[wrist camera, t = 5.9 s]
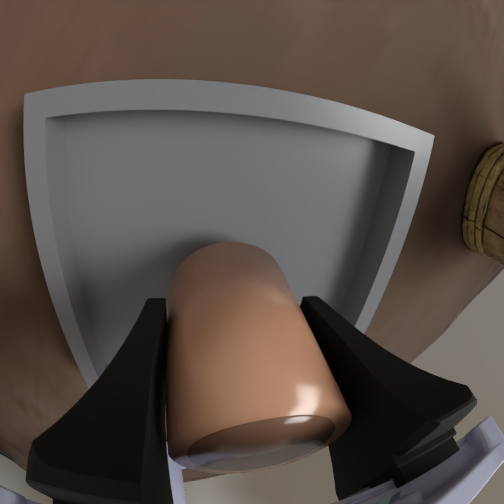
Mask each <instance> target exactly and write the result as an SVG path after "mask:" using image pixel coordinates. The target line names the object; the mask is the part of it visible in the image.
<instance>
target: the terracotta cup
mask: <svg viewBox="0 0 504 504" xmlns="http://www.w3.org/2000/svg"><path fill="white" fill-rule="evenodd" d="M351 420H352V415H351V413H350V411H349V409H348V406H347V404H346V402H345V400H344V398H343V396H342V394H341V392H340V389H339V387H338V385H337V383H336V381H335V379H334V377H333V375H332V372H331V370H330V368H329V366H328V364H327V362H326V360H325V358H324V356H323V354H322V351H321V349H320V347H319V345H318V343H317V341H316V339H315V337H314V335H313V333H312V331H311V329H310V327H309V325H308V323H307V320H306V318H305V316H304V314H303V312H302V310H301V308H300V306H299V304H298V302H297V300H296V298H295V296H294V294H293V292H292V290H291V288H290V286H289V284H288V282H287V280H286V278H285V276H284V274H283V272H282V270H281V268H280V266H279V264H278V263H277V261H276V260H275V259H274V258H273V257H272V256H271V255H270V254H269V253H267V252H266V251H265V250H263V249H261V248H259V247H257V246H254V245H251V244H247V243H243V242H221V243H216V244H212V245H208V246H206V247H203V248H201V249H199V250H197V251H195V252H193V253H192V254H191V255H189V256H188V257H187V258H186V259H185V260H183V261H182V262H181V264H180V265H179V266H178V267H177V269H176V271H175V272H174V274H173V277H172V279H171V283H170V289H169V304H168V322H167V348H166V422H167V446H168V455H169V457H170V458H171V459H172V460H173V461H174V462H176V463H177V464H179V465H181V466H183V467H186V468H189V469H192V470H196V471H201V472H208V473H222V474H230V473H231V474H232V473H247V472H255V471H261V470H266V469H271V468H275V467H279V466H282V465H285V464H289V463H292V462H295V461H298V460H300V459H303V458H305V457H307V456H309V455H312V454H314V453H316V452H318V451H319V450H321V449H323V448H325V447H326V446H328V445H329V444H331V443H332V442H334V441H335V440H336V439H338V438H339V437H340V436H341V435H342V434H343V433H344V432H345V431H346V429H347V428H348V427H349V425H350V423H351Z"/></svg>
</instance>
